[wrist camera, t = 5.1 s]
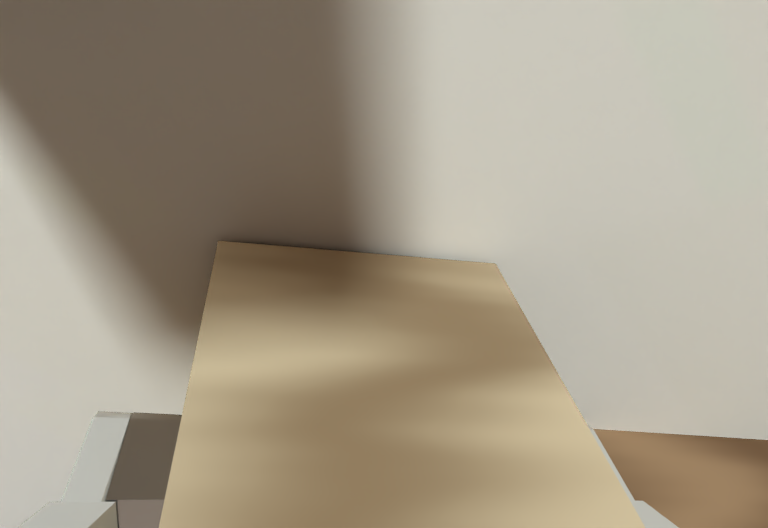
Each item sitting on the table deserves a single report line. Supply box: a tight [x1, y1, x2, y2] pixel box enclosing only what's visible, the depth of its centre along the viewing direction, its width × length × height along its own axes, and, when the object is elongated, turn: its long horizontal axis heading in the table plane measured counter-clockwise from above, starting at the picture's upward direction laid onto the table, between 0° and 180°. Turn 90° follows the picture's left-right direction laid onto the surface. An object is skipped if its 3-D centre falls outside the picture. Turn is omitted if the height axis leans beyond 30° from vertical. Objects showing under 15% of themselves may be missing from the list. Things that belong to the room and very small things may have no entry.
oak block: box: [159, 241, 645, 528], centre depth 9 cm, size 5×5×6 cm
